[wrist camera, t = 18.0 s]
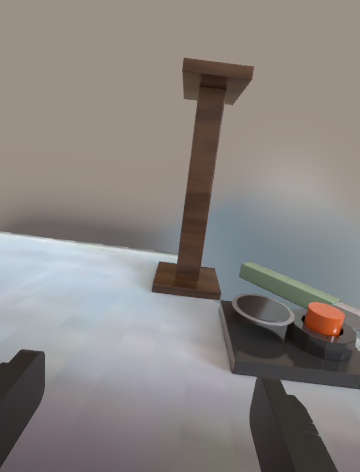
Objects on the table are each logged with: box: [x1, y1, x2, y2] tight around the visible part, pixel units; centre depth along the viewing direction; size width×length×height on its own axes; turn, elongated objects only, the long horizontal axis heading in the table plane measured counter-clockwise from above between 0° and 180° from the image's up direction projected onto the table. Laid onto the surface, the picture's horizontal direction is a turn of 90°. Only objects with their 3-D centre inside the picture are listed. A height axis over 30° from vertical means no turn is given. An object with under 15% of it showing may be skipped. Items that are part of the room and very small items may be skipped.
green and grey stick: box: [239, 262, 360, 331], centre depth 44 cm, size 22×3×3 cm
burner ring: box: [232, 294, 295, 326], centre depth 33 cm, size 7×7×1 cm
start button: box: [304, 302, 345, 337], centre depth 31 cm, size 4×4×2 cm
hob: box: [219, 300, 360, 389], centre depth 32 cm, size 14×12×4 cm
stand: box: [152, 58, 254, 300], centre depth 42 cm, size 14×10×30 cm
